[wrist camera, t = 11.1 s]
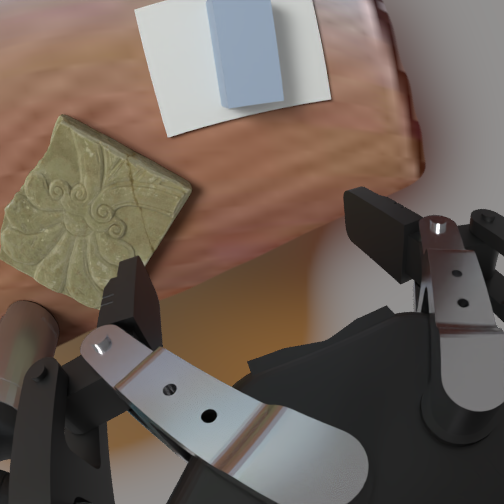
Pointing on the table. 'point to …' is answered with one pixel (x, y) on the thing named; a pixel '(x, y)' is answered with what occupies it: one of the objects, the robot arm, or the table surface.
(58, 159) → the decorative tile
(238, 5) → the block
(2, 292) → the table surface
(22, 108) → the table surface
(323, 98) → the mat
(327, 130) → the table surface
